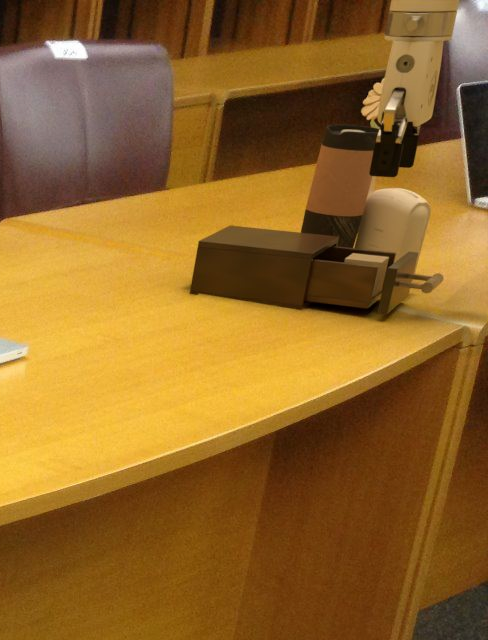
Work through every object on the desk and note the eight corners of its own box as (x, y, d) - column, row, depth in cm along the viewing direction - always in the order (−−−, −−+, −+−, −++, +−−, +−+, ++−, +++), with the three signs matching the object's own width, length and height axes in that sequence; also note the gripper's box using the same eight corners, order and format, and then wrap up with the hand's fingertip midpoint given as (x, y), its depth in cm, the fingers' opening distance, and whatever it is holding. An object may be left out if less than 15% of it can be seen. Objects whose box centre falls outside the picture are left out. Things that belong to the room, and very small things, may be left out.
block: (345, 286, 206) (352, 252, 204) (381, 291, 204) (389, 256, 202) (337, 292, 203) (344, 258, 201) (374, 297, 200) (381, 262, 198)
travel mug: (345, 268, 226) (381, 126, 217) (349, 279, 220) (387, 134, 211) (289, 263, 229) (323, 122, 219) (292, 274, 222) (327, 130, 213)
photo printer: (343, 269, 225) (365, 183, 219) (368, 269, 226) (391, 182, 220) (390, 286, 216) (414, 196, 210) (416, 285, 217) (441, 196, 211)
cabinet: (327, 292, 212) (339, 236, 209) (300, 311, 202) (312, 253, 198) (219, 279, 220) (229, 225, 217) (188, 297, 209) (198, 240, 206)
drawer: (441, 300, 204) (452, 255, 201) (421, 319, 194) (433, 272, 191) (302, 283, 213) (311, 241, 210) (277, 300, 203) (286, 256, 201)
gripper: (440, 31, 180) (409, 182, 188) (466, 23, 193) (436, 165, 200) (371, 30, 185) (344, 178, 192) (401, 23, 197) (374, 162, 204)
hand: (391, 171), depth 196 cm, fingers open, 9 cm apart
